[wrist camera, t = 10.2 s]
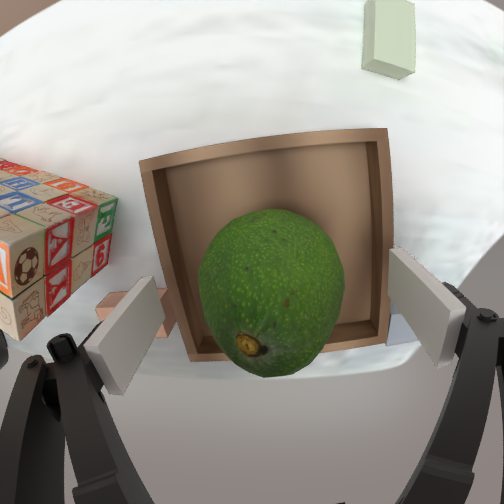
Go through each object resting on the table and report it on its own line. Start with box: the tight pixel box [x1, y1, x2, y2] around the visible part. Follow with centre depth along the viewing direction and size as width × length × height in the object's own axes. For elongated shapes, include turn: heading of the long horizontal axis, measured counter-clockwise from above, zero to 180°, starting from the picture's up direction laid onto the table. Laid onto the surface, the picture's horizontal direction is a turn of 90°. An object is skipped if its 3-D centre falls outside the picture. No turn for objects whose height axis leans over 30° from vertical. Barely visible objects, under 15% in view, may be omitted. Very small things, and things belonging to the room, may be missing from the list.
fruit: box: [198, 209, 345, 378], centre depth 16 cm, size 8×8×12 cm
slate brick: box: [385, 300, 419, 346], centre depth 22 cm, size 6×3×3 cm, turn 96°
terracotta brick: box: [95, 288, 177, 338], centre depth 23 cm, size 6×3×3 cm, turn 98°
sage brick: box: [361, 0, 416, 80], centre depth 14 cm, size 6×3×3 cm, turn 173°
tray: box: [139, 128, 394, 362], centre depth 20 cm, size 16×16×3 cm
